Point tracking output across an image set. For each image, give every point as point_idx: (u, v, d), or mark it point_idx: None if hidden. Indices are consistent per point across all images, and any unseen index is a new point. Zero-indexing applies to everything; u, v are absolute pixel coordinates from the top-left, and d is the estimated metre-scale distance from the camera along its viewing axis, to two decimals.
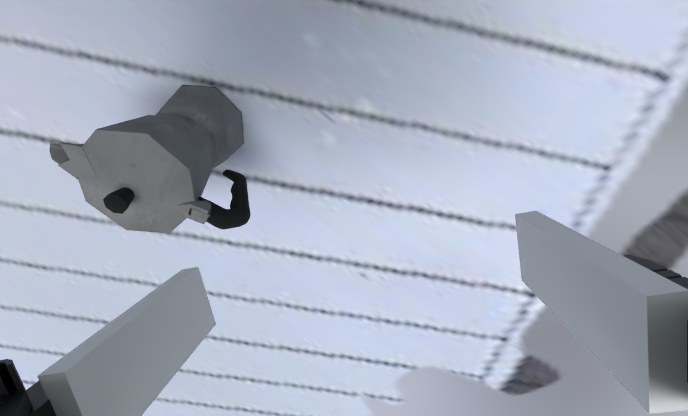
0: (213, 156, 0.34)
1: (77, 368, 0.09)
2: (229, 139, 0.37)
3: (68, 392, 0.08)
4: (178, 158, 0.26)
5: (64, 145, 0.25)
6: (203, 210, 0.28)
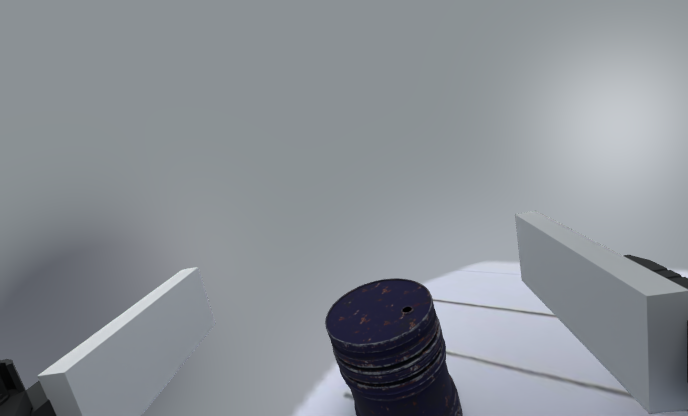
0: None
1: (77, 368, 0.09)
2: None
3: (68, 392, 0.08)
4: None
5: None
6: None
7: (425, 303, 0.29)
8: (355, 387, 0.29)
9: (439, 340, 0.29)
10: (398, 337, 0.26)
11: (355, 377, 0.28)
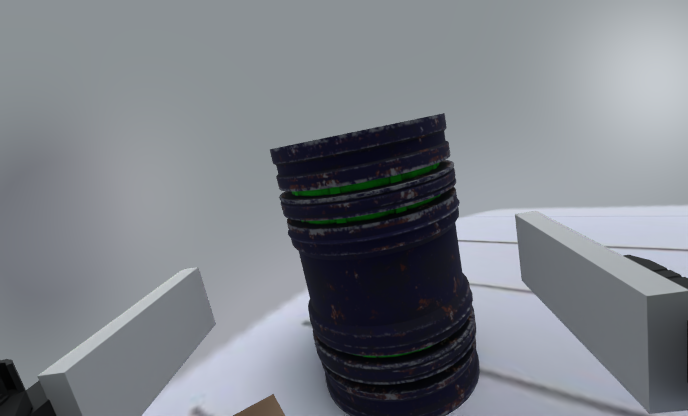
0: None
1: (77, 368, 0.09)
2: None
3: (68, 392, 0.08)
4: None
5: None
6: None
7: None
8: (306, 240, 0.17)
9: (452, 174, 0.17)
10: (384, 127, 0.15)
11: (306, 215, 0.17)
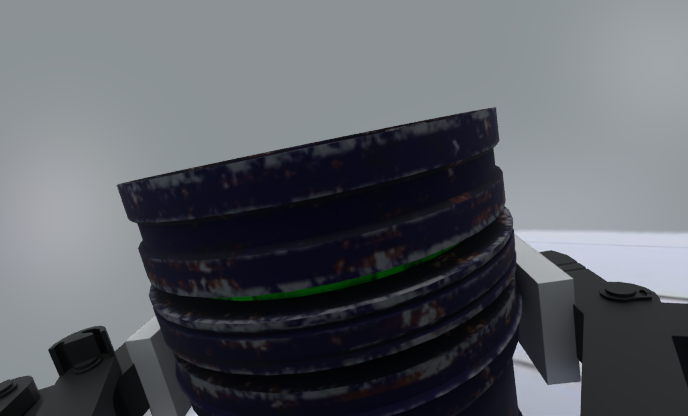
0: None
1: (158, 335, 0.10)
2: None
3: (152, 356, 0.09)
4: None
5: None
6: None
7: None
8: (188, 390, 0.08)
9: (513, 242, 0.08)
10: (357, 142, 0.05)
11: (177, 346, 0.07)
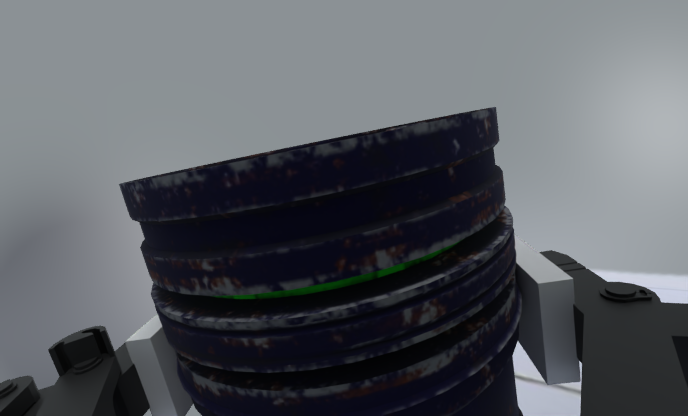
0: None
1: (158, 335, 0.10)
2: None
3: (152, 356, 0.09)
4: None
5: None
6: None
7: None
8: (190, 388, 0.08)
9: (512, 241, 0.08)
10: (359, 141, 0.05)
11: (179, 344, 0.07)
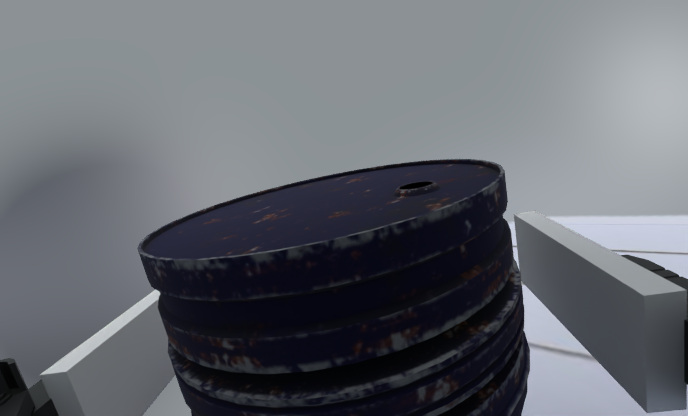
0: None
1: (79, 367, 0.09)
2: None
3: (70, 391, 0.09)
4: None
5: None
6: None
7: (477, 175, 0.09)
8: None
9: (521, 300, 0.08)
10: (375, 233, 0.05)
11: (198, 409, 0.07)
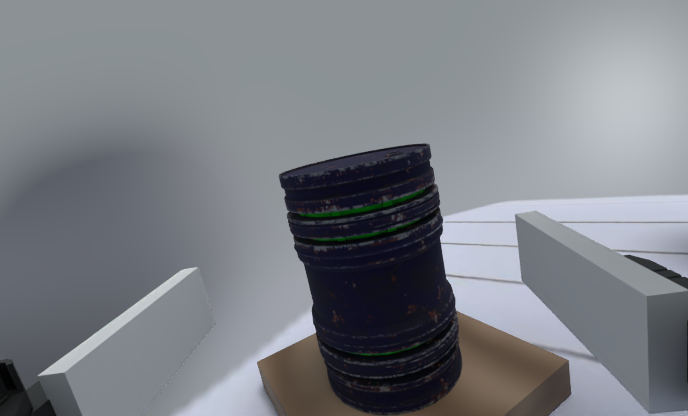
0: None
1: (77, 368, 0.09)
2: None
3: (68, 392, 0.08)
4: None
5: None
6: None
7: (419, 149, 0.21)
8: (311, 254, 0.20)
9: (435, 198, 0.20)
10: (377, 162, 0.18)
11: (311, 234, 0.19)
